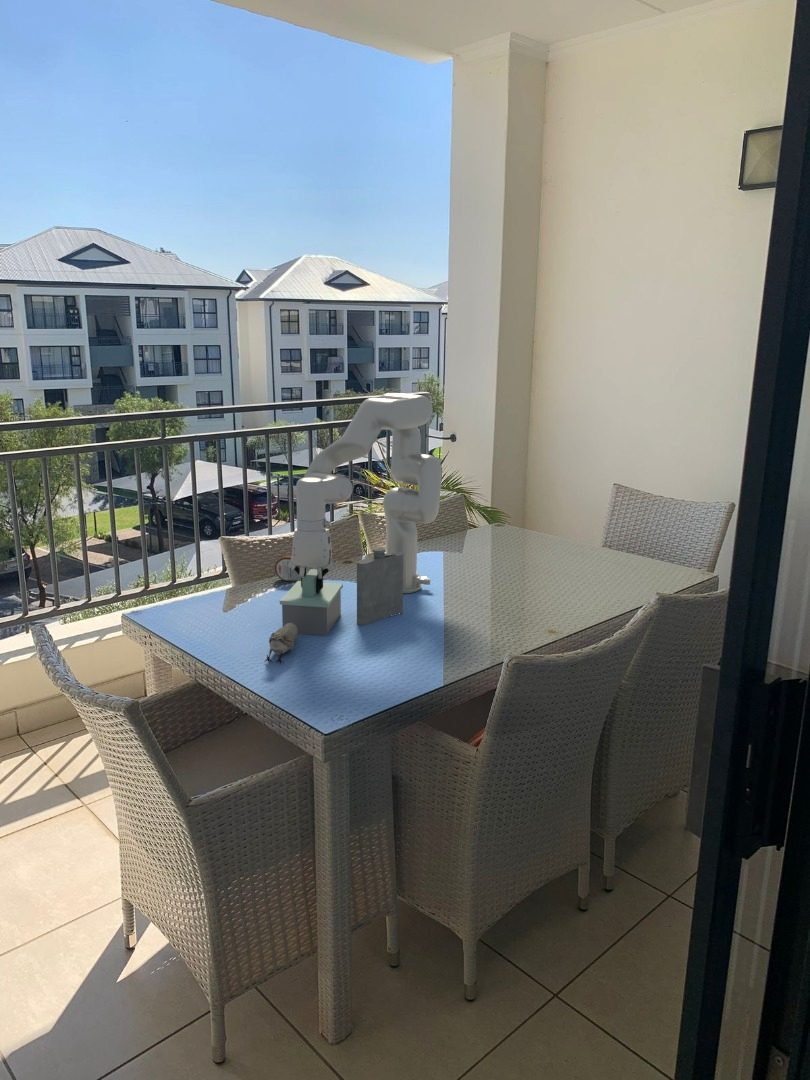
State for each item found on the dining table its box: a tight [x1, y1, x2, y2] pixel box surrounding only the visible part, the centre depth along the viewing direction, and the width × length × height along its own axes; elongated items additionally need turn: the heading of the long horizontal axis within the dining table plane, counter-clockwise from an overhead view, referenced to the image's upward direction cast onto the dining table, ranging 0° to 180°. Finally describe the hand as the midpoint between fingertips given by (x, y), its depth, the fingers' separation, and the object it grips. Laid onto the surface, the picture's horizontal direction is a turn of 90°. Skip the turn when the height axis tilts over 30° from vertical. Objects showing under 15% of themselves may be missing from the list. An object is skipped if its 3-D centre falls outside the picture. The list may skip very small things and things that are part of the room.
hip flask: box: [356, 546, 404, 626], centre depth 218 cm, size 16×4×20 cm, turn 133°
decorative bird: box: [264, 623, 298, 665], centre depth 194 cm, size 5×16×7 cm, turn 170°
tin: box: [274, 554, 317, 583], centre depth 249 cm, size 15×3×8 cm, turn 84°
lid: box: [279, 569, 344, 608], centre depth 212 cm, size 13×17×7 cm
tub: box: [281, 589, 342, 637], centre depth 214 cm, size 12×16×8 cm
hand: (312, 590), depth 212 cm, fingers closed on lid, 3 cm apart
